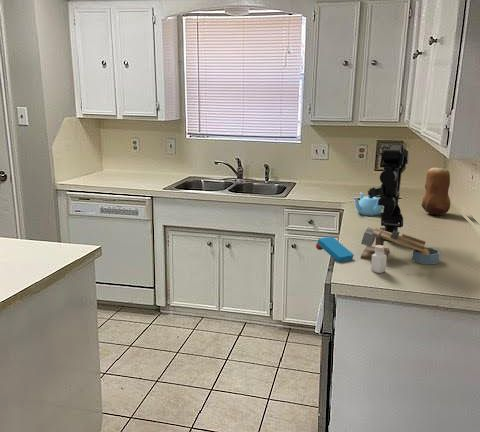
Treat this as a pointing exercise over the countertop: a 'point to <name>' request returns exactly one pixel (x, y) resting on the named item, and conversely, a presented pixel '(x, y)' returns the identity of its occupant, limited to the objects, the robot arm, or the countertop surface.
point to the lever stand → (371, 250)
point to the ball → (424, 251)
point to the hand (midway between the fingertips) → (387, 218)
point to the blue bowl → (426, 256)
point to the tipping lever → (392, 238)
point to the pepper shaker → (378, 260)
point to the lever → (334, 249)
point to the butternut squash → (437, 191)
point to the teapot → (368, 205)
